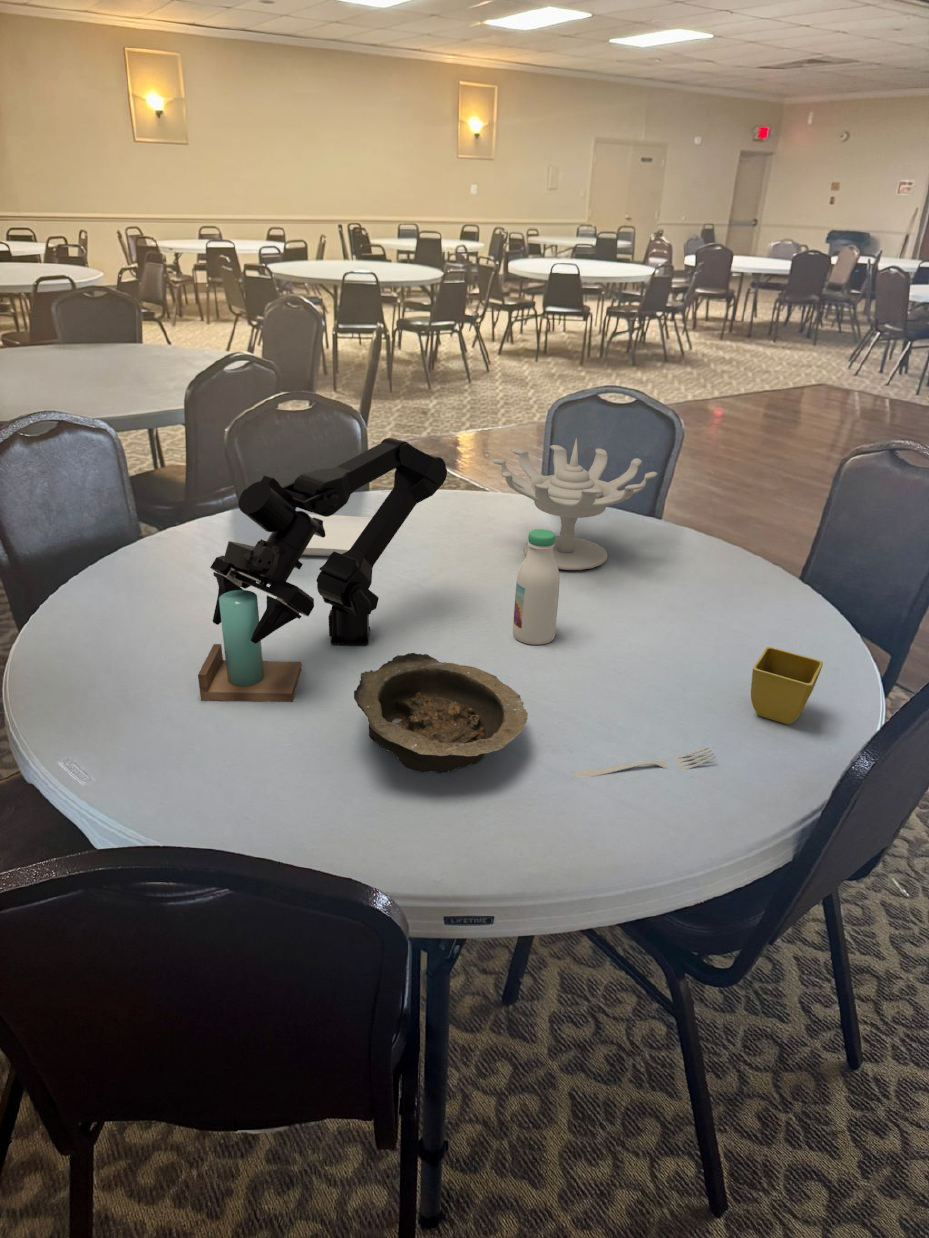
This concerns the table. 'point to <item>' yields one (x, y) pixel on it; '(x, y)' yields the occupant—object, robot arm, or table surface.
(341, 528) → the salad plate
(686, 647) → the table surface
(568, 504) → the candelabra
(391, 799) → the table surface
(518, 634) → the milk bottle
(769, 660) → the flower pot
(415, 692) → the stone bowl
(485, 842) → the table surface
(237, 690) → the shelf board
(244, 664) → the mint green capsule
